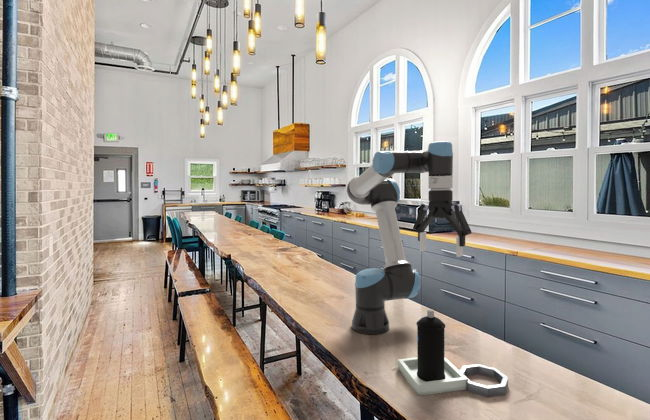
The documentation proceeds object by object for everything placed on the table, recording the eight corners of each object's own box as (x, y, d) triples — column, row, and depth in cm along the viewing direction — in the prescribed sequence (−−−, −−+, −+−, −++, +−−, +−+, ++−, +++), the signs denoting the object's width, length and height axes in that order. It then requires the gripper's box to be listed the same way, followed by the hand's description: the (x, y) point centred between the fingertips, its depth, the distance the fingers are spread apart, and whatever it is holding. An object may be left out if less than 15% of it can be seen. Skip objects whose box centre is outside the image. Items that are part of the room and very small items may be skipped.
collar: (451, 375, 109) (451, 367, 109) (488, 370, 111) (488, 362, 111) (475, 399, 97) (475, 390, 97) (516, 393, 99) (517, 384, 99)
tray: (397, 368, 114) (397, 359, 113) (441, 363, 116) (441, 354, 116) (418, 395, 99) (418, 385, 99) (468, 389, 102) (468, 378, 101)
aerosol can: (451, 377, 106) (451, 311, 105) (432, 386, 102) (432, 317, 100) (429, 365, 113) (429, 303, 112) (410, 373, 109) (410, 309, 107)
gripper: (402, 189, 125) (403, 250, 127) (470, 189, 106) (470, 260, 108) (415, 189, 130) (415, 247, 131) (483, 189, 111) (482, 257, 112)
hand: (440, 253), depth 120 cm, fingers open, 13 cm apart
